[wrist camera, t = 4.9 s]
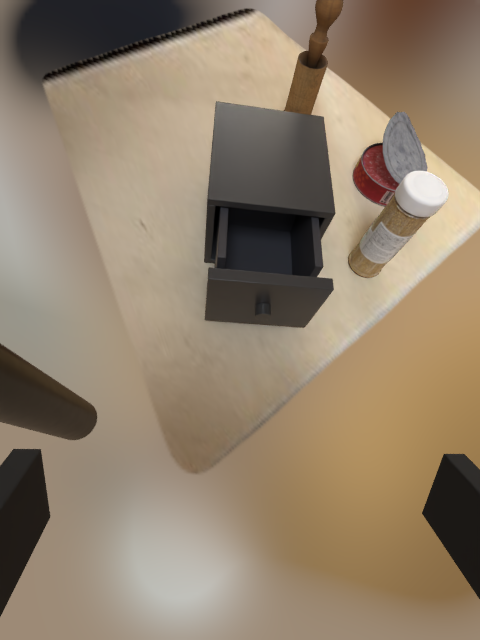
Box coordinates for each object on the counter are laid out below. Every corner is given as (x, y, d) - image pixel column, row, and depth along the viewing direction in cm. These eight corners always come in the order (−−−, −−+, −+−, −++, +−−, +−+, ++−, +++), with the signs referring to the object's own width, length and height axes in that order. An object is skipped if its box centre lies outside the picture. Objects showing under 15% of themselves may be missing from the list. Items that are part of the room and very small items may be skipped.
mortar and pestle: (273, 152, 51) (311, 2, 35) (266, 123, 53) (298, -29, 37) (314, 152, 52) (370, 7, 36) (305, 124, 55) (353, -23, 38)
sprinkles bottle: (362, 244, 46) (423, 162, 33) (387, 268, 44) (459, 191, 32) (340, 260, 44) (395, 179, 32) (365, 285, 43) (432, 211, 31)
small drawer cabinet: (303, 271, 42) (335, 213, 33) (204, 262, 41) (207, 198, 32) (298, 186, 49) (323, 116, 39) (211, 176, 47) (215, 101, 38)
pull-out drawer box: (305, 337, 38) (335, 301, 30) (204, 330, 36) (207, 290, 29) (298, 233, 44) (322, 180, 36) (212, 224, 43) (216, 167, 35)
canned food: (375, 183, 58) (429, 133, 51) (399, 225, 53) (463, 175, 46) (332, 156, 51) (387, 94, 45) (355, 200, 46) (421, 138, 40)
